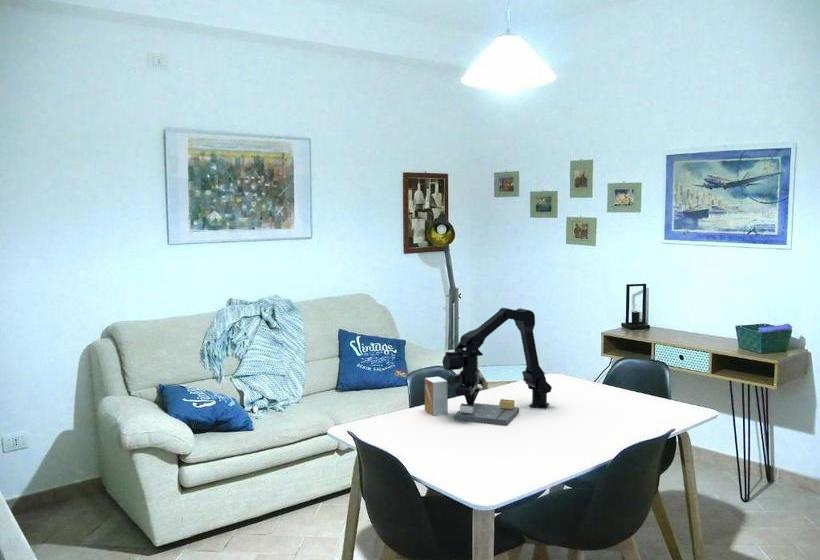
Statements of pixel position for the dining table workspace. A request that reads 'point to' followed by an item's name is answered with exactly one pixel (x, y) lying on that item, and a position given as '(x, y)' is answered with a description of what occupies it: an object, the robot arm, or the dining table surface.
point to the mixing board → (489, 414)
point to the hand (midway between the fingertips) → (470, 408)
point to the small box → (436, 396)
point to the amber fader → (507, 404)
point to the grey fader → (467, 408)
